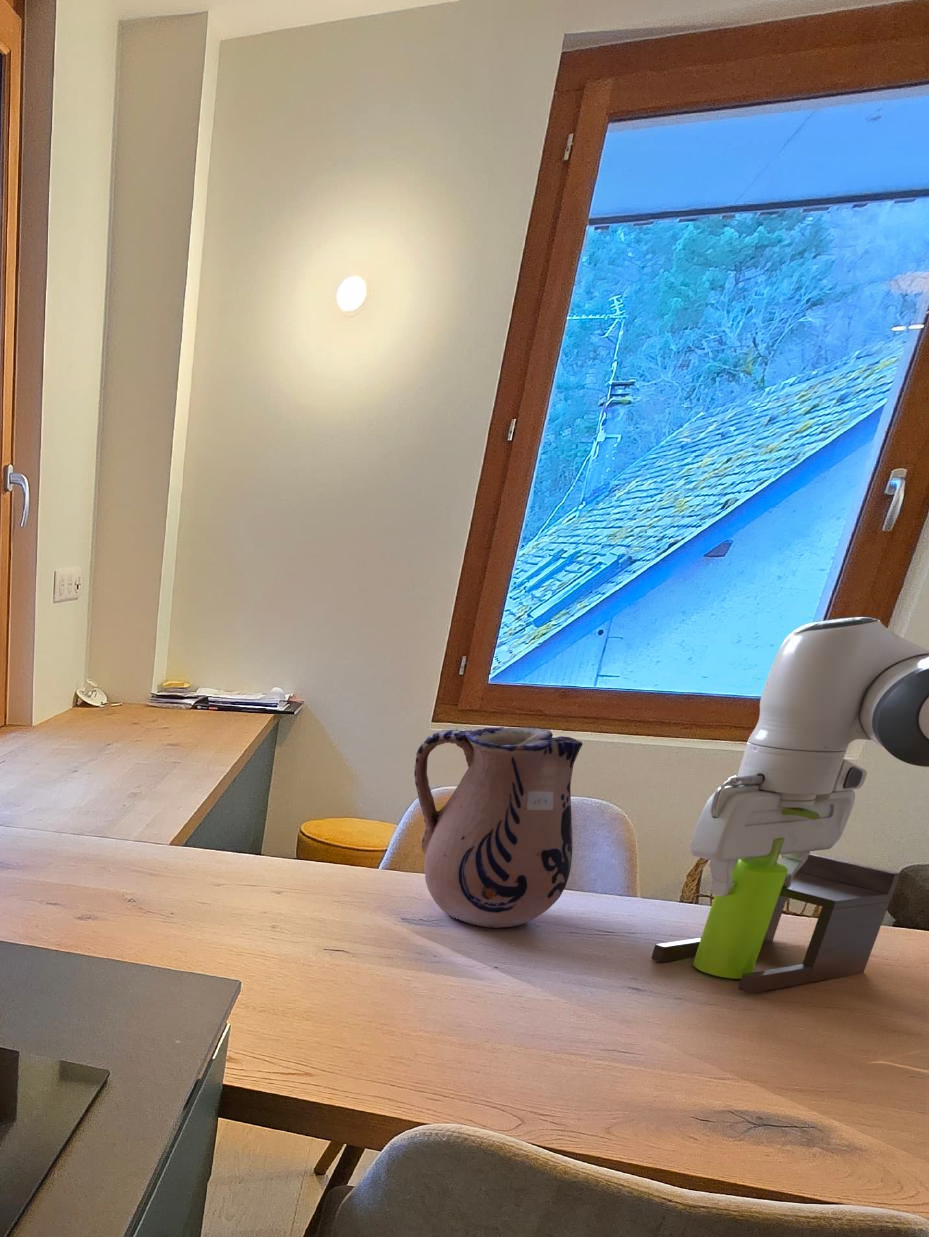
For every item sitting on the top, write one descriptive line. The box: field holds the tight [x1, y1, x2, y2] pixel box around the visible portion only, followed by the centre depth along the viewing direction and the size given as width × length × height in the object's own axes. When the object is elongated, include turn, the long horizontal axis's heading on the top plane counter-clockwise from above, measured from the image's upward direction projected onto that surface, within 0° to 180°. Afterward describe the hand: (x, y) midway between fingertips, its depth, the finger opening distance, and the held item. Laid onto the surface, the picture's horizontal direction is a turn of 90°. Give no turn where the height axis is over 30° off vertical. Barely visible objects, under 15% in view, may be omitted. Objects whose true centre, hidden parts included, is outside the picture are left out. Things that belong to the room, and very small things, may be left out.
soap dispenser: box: [692, 808, 820, 980], centre depth 120 cm, size 6×7×20 cm
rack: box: [650, 852, 901, 994], centre depth 124 cm, size 12×20×12 cm, turn 110°
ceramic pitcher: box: [414, 726, 583, 929], centre depth 138 cm, size 18×21×25 cm
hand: (749, 891), depth 121 cm, fingers open, 8 cm apart
